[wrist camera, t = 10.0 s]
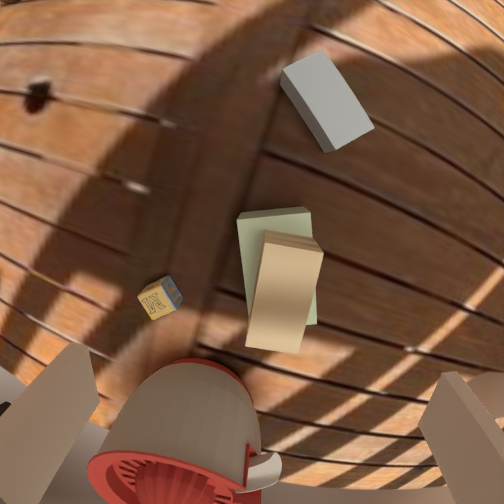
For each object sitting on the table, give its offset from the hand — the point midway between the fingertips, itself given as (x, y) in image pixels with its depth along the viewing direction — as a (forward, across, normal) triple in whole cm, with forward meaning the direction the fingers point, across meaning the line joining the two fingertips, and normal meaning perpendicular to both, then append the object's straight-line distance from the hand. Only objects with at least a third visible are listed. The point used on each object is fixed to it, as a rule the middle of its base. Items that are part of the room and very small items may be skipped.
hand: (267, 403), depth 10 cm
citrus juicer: (+22, -5, -19) cm, 29 cm away
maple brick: (+17, +1, -1) cm, 17 cm away
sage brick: (+22, +1, -1) cm, 22 cm away
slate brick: (+22, +4, +14) cm, 26 cm away
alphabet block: (+22, -10, -6) cm, 25 cm away
